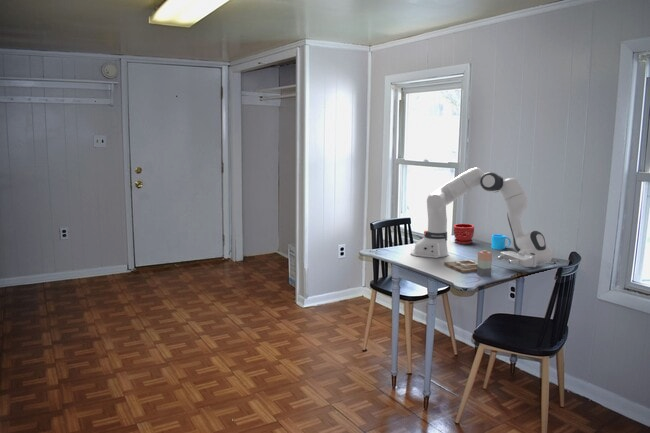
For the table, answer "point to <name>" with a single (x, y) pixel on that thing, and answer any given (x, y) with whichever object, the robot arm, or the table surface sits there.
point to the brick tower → (484, 263)
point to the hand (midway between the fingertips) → (504, 259)
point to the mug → (499, 241)
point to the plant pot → (463, 233)
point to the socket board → (463, 265)
